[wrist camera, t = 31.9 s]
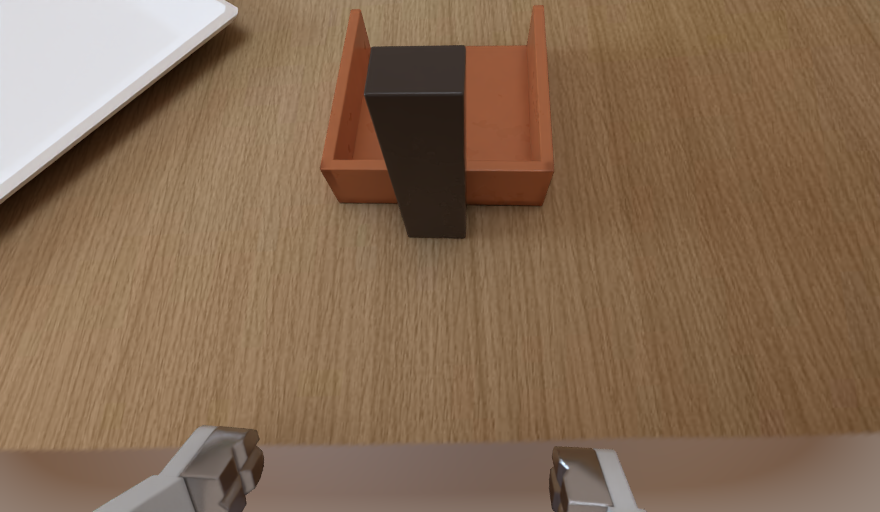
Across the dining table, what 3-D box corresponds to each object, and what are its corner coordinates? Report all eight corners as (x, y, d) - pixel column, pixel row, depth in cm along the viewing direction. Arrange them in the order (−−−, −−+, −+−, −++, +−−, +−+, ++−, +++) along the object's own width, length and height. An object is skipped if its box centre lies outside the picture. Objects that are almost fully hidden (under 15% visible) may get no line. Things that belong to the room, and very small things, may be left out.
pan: (544, 240, 21) (606, 93, 11) (333, 235, 22) (232, 95, 12) (535, 52, 26) (573, -157, 16) (363, 55, 26) (308, -143, 17)
